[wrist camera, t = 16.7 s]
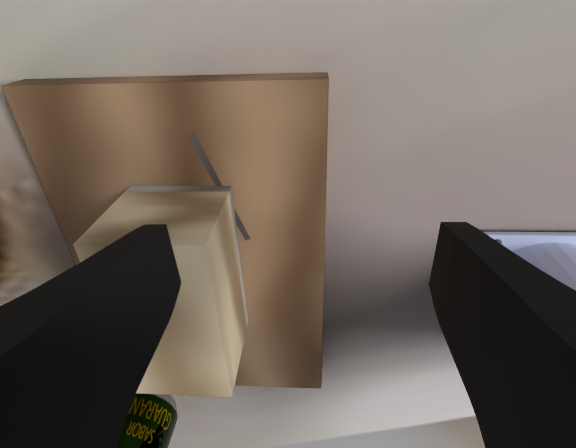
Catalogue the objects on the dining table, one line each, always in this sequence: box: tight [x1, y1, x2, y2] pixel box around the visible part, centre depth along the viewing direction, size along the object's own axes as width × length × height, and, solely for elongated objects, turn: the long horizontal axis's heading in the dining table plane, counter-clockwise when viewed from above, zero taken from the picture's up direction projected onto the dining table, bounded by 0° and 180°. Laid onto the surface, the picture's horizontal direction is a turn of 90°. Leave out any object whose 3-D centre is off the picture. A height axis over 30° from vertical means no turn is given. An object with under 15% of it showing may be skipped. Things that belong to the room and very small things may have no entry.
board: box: [1, 73, 329, 388], centre depth 21 cm, size 14×20×2 cm
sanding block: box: [73, 186, 248, 397], centre depth 18 cm, size 5×9×5 cm, turn 2°
